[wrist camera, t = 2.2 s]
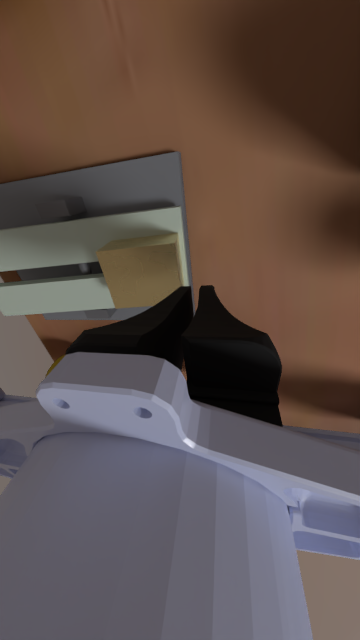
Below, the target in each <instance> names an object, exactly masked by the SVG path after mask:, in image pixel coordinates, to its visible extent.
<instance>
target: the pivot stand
mask: <svg viewBox="0 0 360 640" xmlns="http://www.w3.org/2000/svg"><path fill="white" fill-rule="evenodd" d="M173 206H181V210H182V220H183V229H184V239H185V249H186V258H187V268H188V278H189V286H191V290H192V301H193V311H194V315H195V304H194V293H193V283H192V272H191V261H190V250H189V239H188V229H187V218H186V207H185V196H184V185H183V175H182V164H181V153H180V152H172V153H167V154H161V155H156V156H150V157H145V158H140V159H134V160H129V161H123V162H118V163H112V164H107V165H102V166H96V167H91V168H85V169H80V170H74V171H69V172H64V173H58V174H53V175H47V176H42V177H37V178H31V179H26V180H20V181H15V182H9V183H4V184H0V230H1V229H9V228H16V227H24V226H31V225H39V224H46V223H54V222H60V221H63V220H69V219H71V220H76V219H83V218H91V217H98V216H106V215H113V214H121V213H128V212H136V211H143V210H151V209H158V208H166V207H173ZM88 264H89V267H90V269H91V272H92V274H100V273H103V272H102V269H101V266H100V263H99V261H97V262H88ZM16 271H17V273H18V275H19V276H20V278H21V280H22V281H28V280H38V279H48V278H59V277H69V276H79V275H82V273H81V271H80V268H79V266H78V264H69V265H59V266H49V267H40V268H30V269H21V270H16ZM151 307H153V306H145V307H132V308H118V309H115V308H109V309H95V310H81V311H68V312H54V313H42V314H43V316H44V318H45V319H46V320H125V319H128V318H130V317H133V316H135V315H137V314H140V313H142V312H144V311H146V310H147V309H149V308H151Z"/></svg>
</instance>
